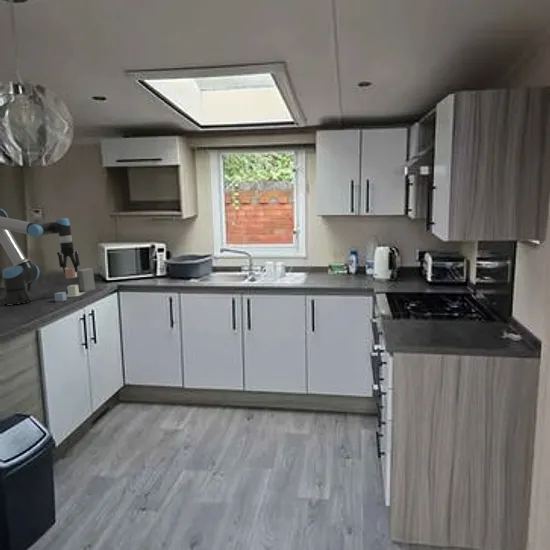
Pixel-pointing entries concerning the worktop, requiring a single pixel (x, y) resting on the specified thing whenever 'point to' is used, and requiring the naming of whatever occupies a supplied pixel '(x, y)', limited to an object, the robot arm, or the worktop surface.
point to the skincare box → (86, 279)
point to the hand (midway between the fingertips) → (71, 277)
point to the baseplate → (76, 295)
